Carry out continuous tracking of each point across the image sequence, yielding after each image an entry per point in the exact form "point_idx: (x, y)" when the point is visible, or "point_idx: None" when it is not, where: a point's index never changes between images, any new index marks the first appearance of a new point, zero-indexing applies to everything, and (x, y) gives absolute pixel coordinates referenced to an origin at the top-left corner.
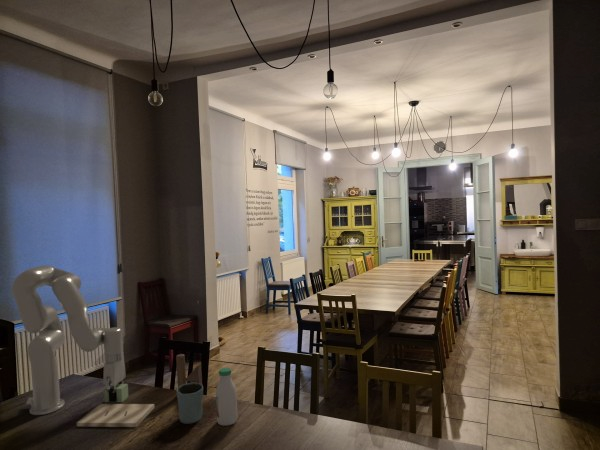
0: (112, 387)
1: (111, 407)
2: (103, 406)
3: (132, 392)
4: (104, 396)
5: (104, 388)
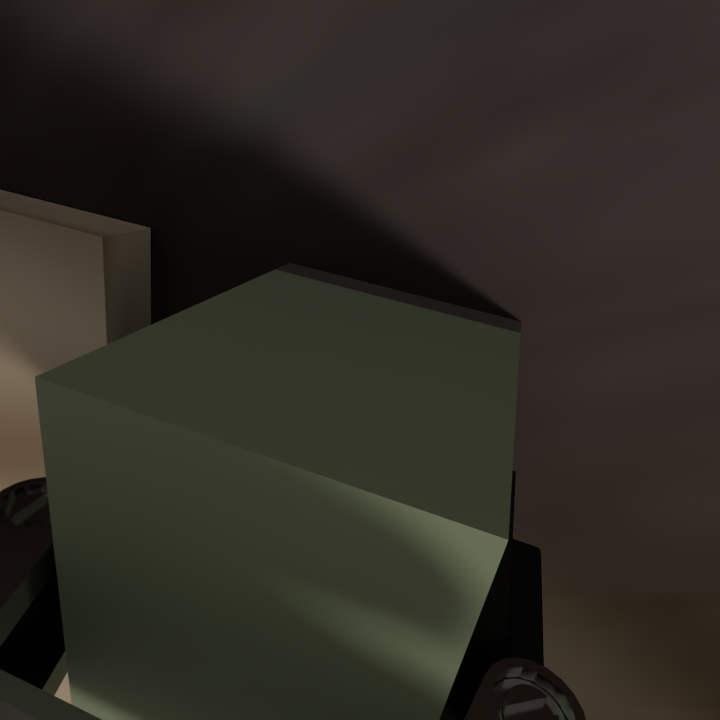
0: (148, 623)
1: (20, 467)
2: (29, 343)
3: (677, 657)
4: (213, 300)
5: (63, 390)
